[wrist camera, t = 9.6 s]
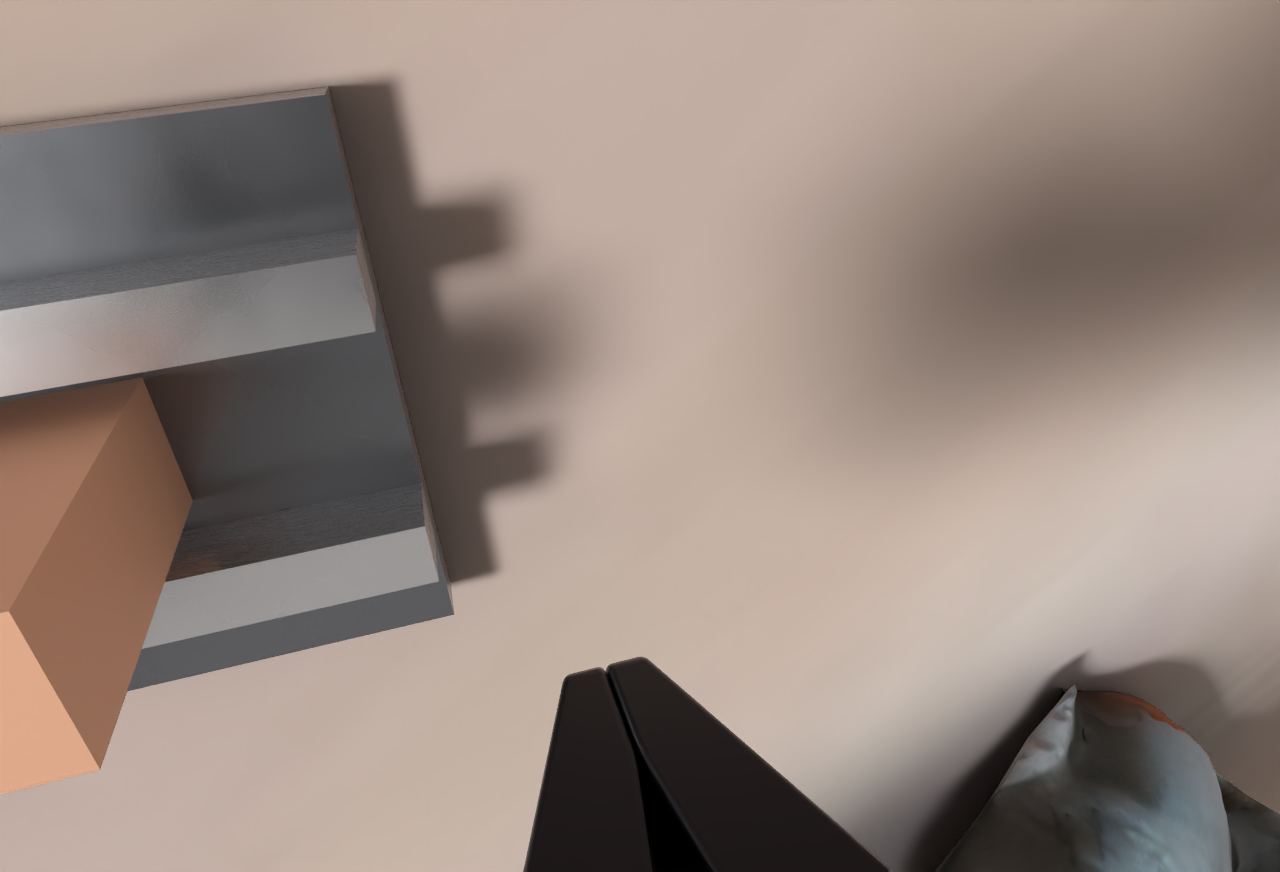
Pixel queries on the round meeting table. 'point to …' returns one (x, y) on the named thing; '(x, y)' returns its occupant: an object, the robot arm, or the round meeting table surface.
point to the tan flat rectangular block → (78, 569)
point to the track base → (229, 362)
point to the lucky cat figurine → (1115, 800)
